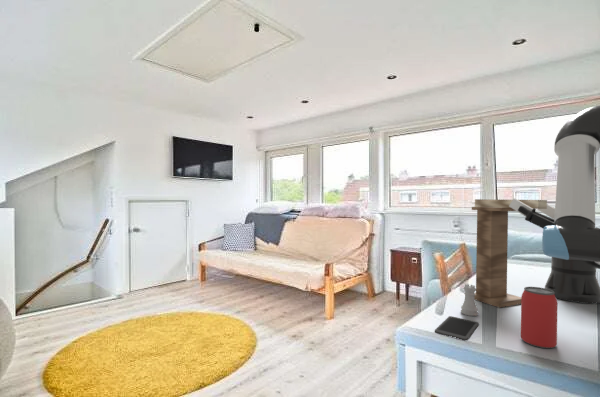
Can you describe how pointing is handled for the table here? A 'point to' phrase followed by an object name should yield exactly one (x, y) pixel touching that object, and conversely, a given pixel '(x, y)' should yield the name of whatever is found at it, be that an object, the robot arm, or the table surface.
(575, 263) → the robot arm
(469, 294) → the rook chess piece
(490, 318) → the table surface
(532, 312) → the beer can
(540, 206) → the ash bar
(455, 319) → the cell phone
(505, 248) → the shelf stand
